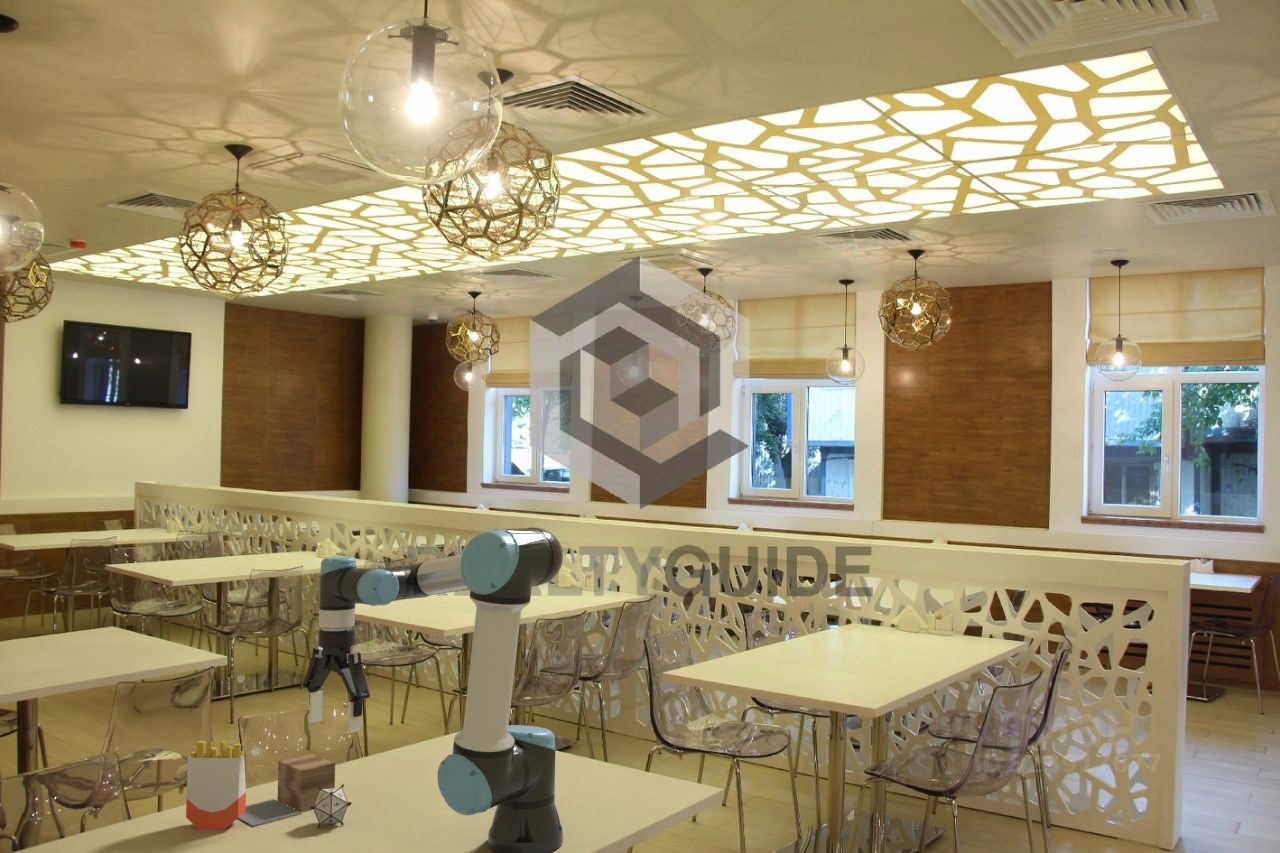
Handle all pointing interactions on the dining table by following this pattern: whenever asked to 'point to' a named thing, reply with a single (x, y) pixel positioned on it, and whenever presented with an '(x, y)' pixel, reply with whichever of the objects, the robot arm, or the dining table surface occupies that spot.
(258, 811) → the mat
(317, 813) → the game die
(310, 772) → the cardboard box
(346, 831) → the dining table surface
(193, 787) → the french fries container
